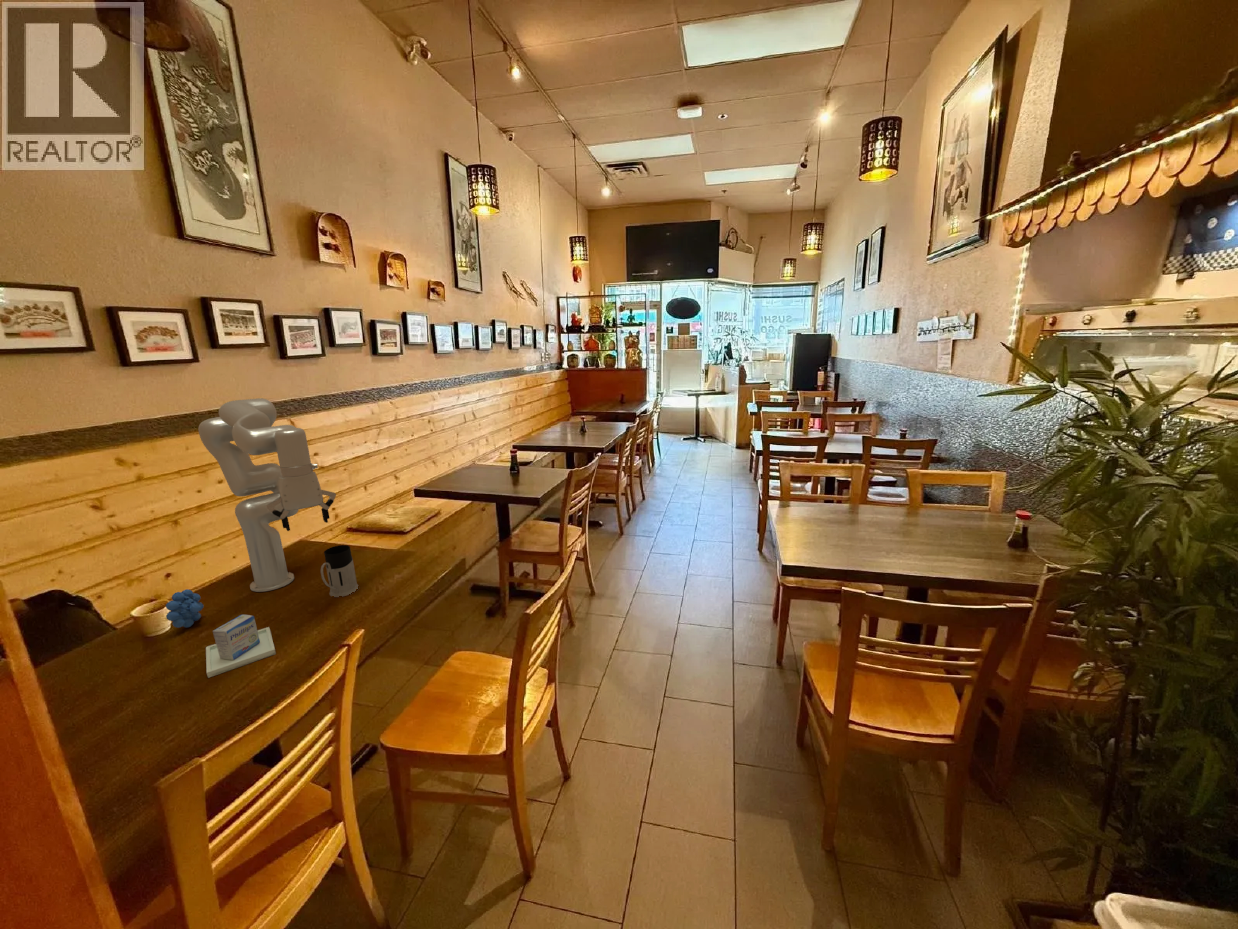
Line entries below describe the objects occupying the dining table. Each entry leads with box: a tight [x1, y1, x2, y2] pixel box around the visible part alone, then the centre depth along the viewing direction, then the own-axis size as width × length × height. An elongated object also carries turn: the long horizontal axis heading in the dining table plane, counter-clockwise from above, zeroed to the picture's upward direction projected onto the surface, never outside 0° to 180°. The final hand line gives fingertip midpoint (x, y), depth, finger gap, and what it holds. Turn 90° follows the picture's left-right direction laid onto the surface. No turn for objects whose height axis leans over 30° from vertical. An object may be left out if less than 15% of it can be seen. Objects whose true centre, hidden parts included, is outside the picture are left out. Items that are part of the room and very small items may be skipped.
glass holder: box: [320, 544, 359, 598], centre depth 155 cm, size 9×14×15 cm, turn 2°
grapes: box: [165, 588, 205, 629], centre depth 138 cm, size 12×7×12 cm, turn 6°
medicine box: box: [212, 614, 260, 660], centre depth 126 cm, size 8×4×9 cm, turn 169°
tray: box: [205, 626, 277, 679], centre depth 127 cm, size 14×14×2 cm
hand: (307, 525), depth 141 cm, fingers open, 9 cm apart
